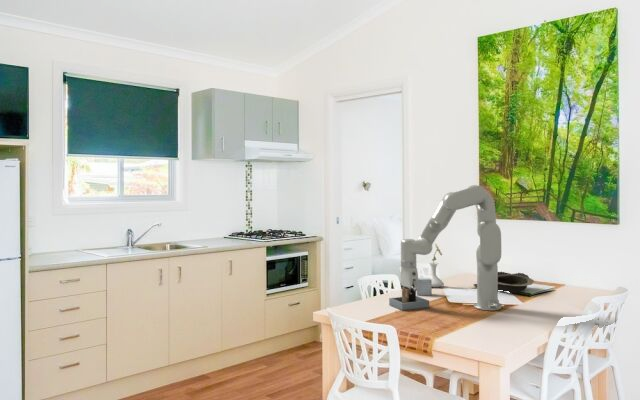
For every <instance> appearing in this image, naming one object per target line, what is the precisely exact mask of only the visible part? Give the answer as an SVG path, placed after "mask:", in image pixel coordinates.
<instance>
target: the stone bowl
mask: <svg viewBox="0 0 640 400" xmlns="http://www.w3.org/2000/svg"><path fill="white" fill-rule="evenodd" d="M533 283H535V281H534V279H532V278H530V277H529V275H528V274H525V273H523V272H516V273H511V272H510V273H509V272H505V271H498V290H503V291H509V292H510V294H520V293H521V292H525V291H526V289H527V287H528V286H532V285H533Z"/></svg>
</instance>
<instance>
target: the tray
mask: <svg viewBox="0 0 640 400" xmlns="http://www.w3.org/2000/svg"><path fill="white" fill-rule="evenodd" d="M388 299H389V302H388V303H389V305H388V306H390V307H393V308H395V309H397V310H400V311H401V310H402V311H401V312H405V311H404V310H406V311H413V310H414V309H415V310H421V309H430V300H429V299H425V298H423V297H421V296H419V295H416V302H408V303H404V302H402V296H396V297H389V298H388Z"/></svg>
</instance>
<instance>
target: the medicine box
mask: <svg viewBox="0 0 640 400" xmlns="http://www.w3.org/2000/svg"><path fill="white" fill-rule="evenodd" d="M432 290H433V287H432V280H431V278H430V277H428V278H427V277H424V278H423V277H422V278H421V277H420V278H419V277H418V289H417V291H416V296H432V295H433V293H432Z"/></svg>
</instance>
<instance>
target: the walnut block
mask: <svg viewBox="0 0 640 400" xmlns="http://www.w3.org/2000/svg"><path fill="white" fill-rule="evenodd" d="M411 288H413V286H412V287H411ZM412 290H413V289H411V291H412ZM409 294H410V292H409V288H407V287H406V288H402V287H401V297H402V302H404V303H408V302H409ZM416 296H417V293H416V294H415V302H416Z"/></svg>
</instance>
